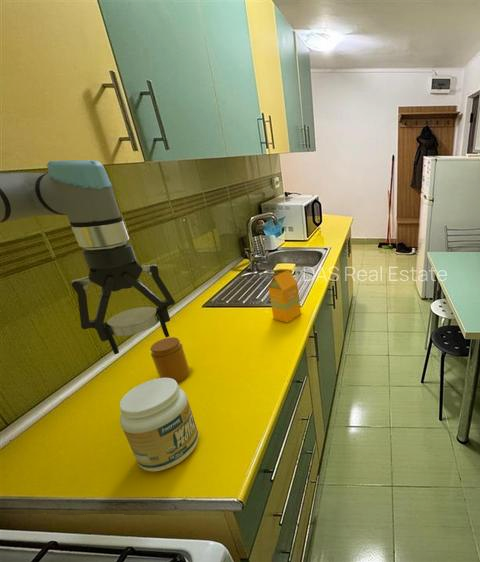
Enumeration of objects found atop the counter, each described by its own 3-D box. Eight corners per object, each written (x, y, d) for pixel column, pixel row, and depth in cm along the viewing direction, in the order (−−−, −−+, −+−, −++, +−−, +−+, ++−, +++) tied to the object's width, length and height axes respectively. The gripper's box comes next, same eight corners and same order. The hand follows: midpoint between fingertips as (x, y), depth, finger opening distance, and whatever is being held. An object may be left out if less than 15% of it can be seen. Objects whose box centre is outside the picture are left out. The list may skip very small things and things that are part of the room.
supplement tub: (183, 473, 66) (161, 414, 59) (125, 476, 65) (97, 417, 59) (209, 426, 77) (192, 373, 71) (159, 429, 77) (138, 375, 70)
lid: (112, 341, 60) (108, 331, 60) (109, 324, 66) (105, 315, 66) (162, 325, 66) (159, 316, 65) (156, 311, 72) (153, 303, 71)
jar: (154, 384, 92) (142, 351, 87) (172, 367, 99) (161, 336, 94) (179, 385, 91) (168, 352, 87) (195, 368, 99) (186, 336, 94)
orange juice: (301, 313, 132) (296, 270, 124) (287, 322, 125) (281, 277, 117) (287, 309, 135) (281, 267, 127) (273, 318, 128) (265, 274, 120)
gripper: (165, 232, 68) (191, 319, 77) (29, 252, 55) (78, 355, 64) (173, 238, 63) (199, 331, 72) (24, 262, 50) (78, 372, 59)
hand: (142, 342), depth 68 cm, fingers closed on lid, 9 cm apart
